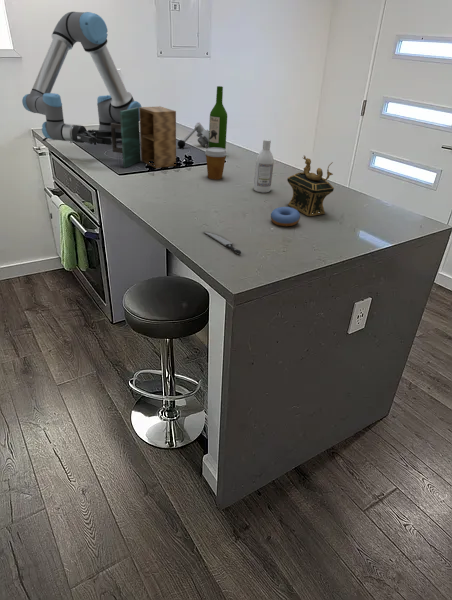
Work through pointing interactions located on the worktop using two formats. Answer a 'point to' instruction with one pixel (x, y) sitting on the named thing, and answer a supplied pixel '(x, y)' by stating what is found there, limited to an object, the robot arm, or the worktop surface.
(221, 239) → the chef's knife
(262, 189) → the bath foam
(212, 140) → the wine bottle
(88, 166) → the worktop surface
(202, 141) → the mechanical valve
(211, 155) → the disposable coffee cup
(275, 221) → the doughnut
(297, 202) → the decorative box
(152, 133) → the cabinet
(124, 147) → the door
